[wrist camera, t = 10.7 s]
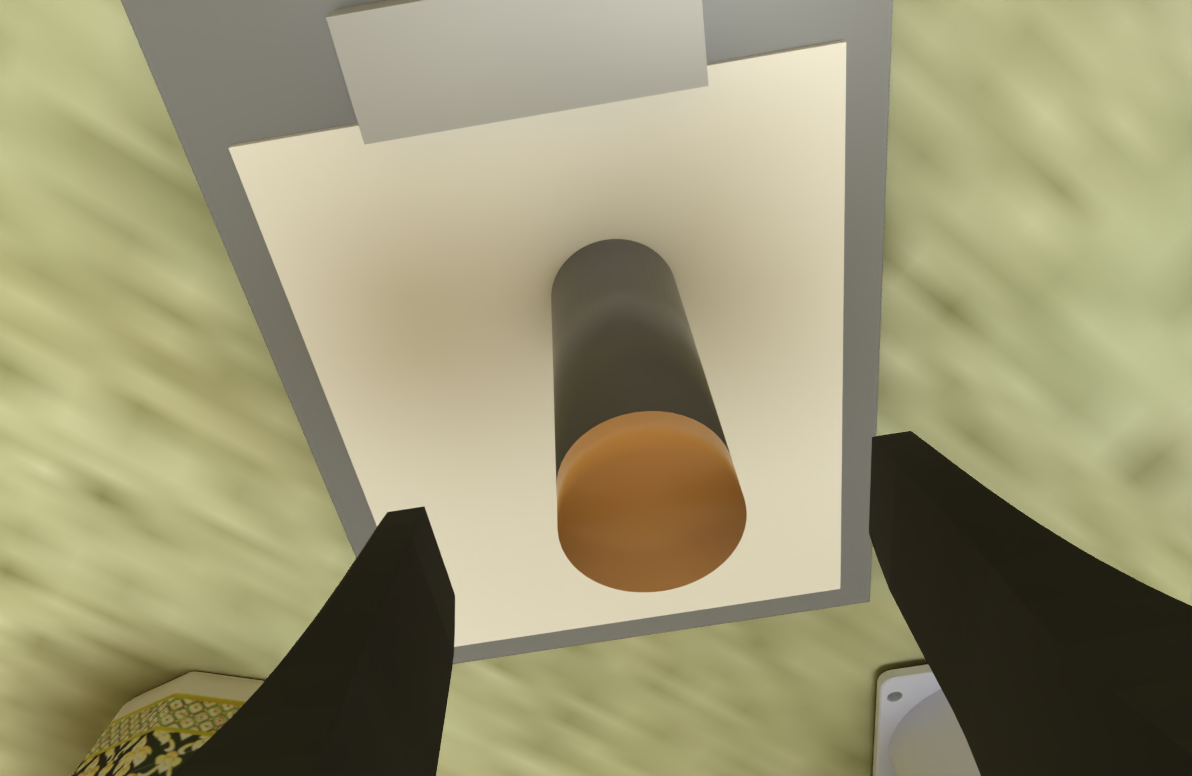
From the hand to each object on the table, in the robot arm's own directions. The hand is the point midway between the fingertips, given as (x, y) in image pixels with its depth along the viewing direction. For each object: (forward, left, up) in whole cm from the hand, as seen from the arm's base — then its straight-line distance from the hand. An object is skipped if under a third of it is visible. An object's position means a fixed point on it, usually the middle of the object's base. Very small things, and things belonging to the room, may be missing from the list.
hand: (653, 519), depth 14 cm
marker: (0, 0, -8) cm, 8 cm away
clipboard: (-2, +1, -9) cm, 9 cm away
